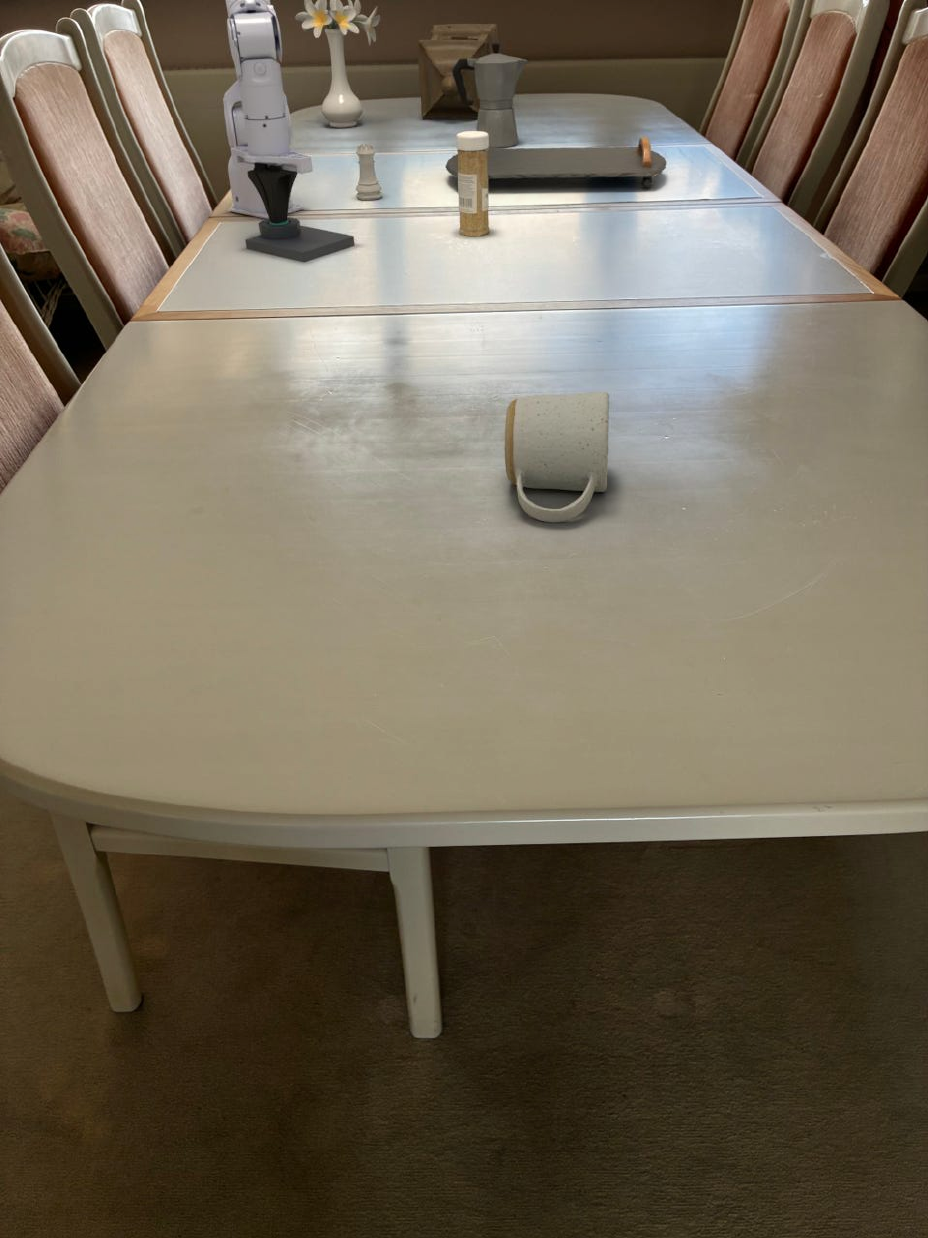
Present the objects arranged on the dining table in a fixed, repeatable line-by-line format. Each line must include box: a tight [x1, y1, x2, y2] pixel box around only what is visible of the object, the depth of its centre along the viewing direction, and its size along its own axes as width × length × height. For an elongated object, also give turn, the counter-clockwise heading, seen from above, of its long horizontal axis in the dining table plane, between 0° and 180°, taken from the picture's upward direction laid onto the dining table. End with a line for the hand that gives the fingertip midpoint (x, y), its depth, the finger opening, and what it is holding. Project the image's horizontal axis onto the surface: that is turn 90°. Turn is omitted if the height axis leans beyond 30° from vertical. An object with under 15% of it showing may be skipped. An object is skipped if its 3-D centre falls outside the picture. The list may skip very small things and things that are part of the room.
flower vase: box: [294, 0, 381, 129], centre depth 213 cm, size 13×18×25 cm
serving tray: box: [445, 136, 667, 190], centre depth 169 cm, size 39×23×6 cm, turn 86°
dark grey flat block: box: [245, 216, 356, 263], centre depth 137 cm, size 13×10×3 cm
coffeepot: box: [452, 42, 529, 149], centre depth 192 cm, size 15×9×18 cm, turn 103°
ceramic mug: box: [504, 391, 610, 523], centre depth 75 cm, size 11×8×8 cm
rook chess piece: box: [355, 143, 383, 201], centre depth 159 cm, size 4×4×8 cm
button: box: [269, 220, 289, 225], centre depth 139 cm, size 3×3×2 cm
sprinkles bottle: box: [455, 130, 490, 237], centre depth 138 cm, size 5×5×14 cm
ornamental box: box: [417, 23, 499, 119], centre depth 225 cm, size 35×18×18 cm, turn 173°
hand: (279, 221), depth 138 cm, fingers closed, pressing on button
